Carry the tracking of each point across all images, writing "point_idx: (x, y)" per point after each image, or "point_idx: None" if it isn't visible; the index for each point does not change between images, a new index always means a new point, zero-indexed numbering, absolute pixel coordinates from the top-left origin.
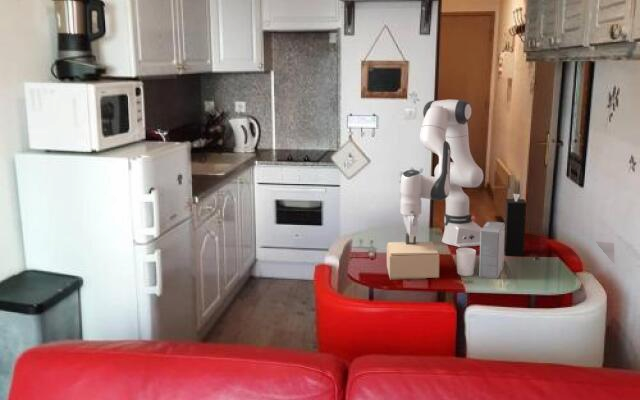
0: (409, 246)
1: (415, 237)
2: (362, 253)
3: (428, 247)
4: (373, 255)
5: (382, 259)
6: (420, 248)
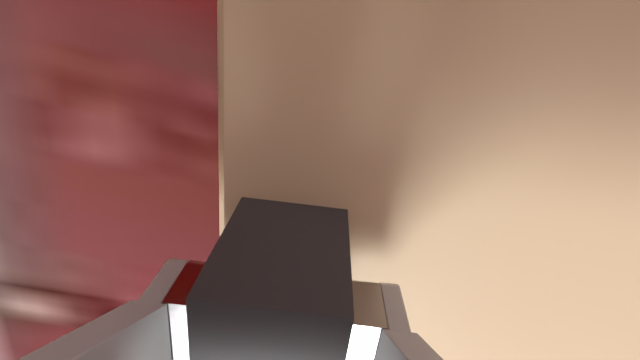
0: (423, 301)
1: (351, 286)
2: (31, 342)
3: (578, 52)
4: (58, 300)
5: (130, 271)
6: (568, 194)
